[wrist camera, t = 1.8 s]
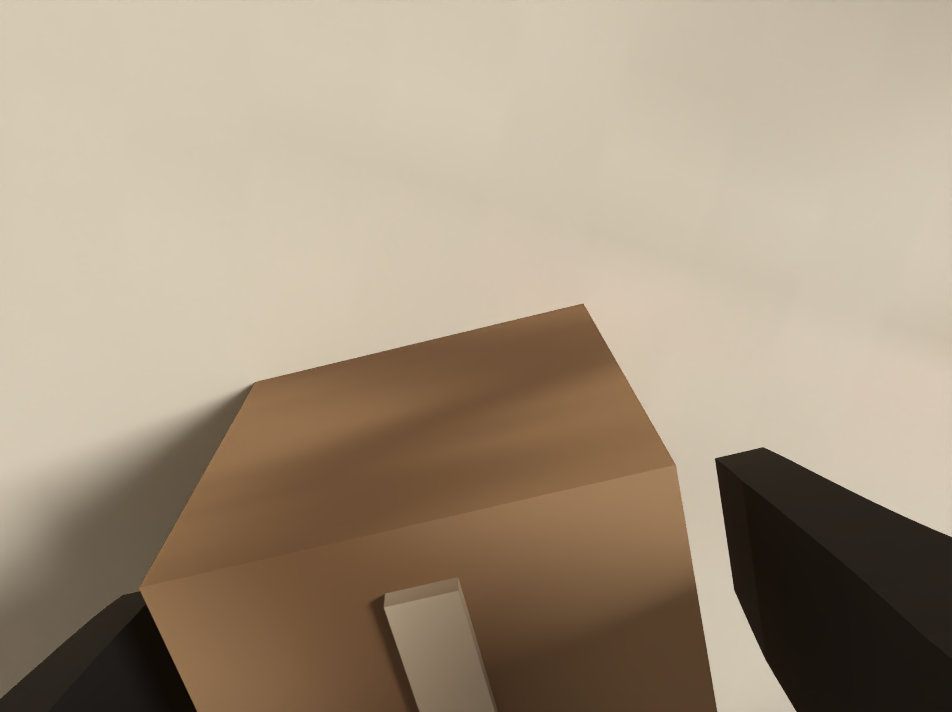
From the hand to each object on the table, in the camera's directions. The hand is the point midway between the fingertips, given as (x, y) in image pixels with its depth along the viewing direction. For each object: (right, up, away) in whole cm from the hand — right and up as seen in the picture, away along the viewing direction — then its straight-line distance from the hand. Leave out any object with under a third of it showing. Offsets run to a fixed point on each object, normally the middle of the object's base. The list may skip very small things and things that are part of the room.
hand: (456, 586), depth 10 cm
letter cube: (0, +1, +3) cm, 3 cm away
